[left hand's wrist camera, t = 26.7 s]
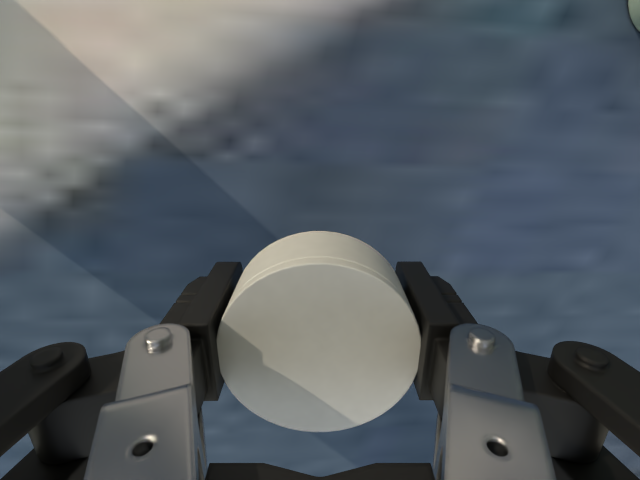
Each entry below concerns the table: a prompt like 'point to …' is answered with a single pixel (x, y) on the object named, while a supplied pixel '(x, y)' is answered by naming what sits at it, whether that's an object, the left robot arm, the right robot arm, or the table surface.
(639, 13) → the pale green cylinder
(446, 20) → the table surface
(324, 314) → the lid
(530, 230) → the table surface
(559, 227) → the table surface
